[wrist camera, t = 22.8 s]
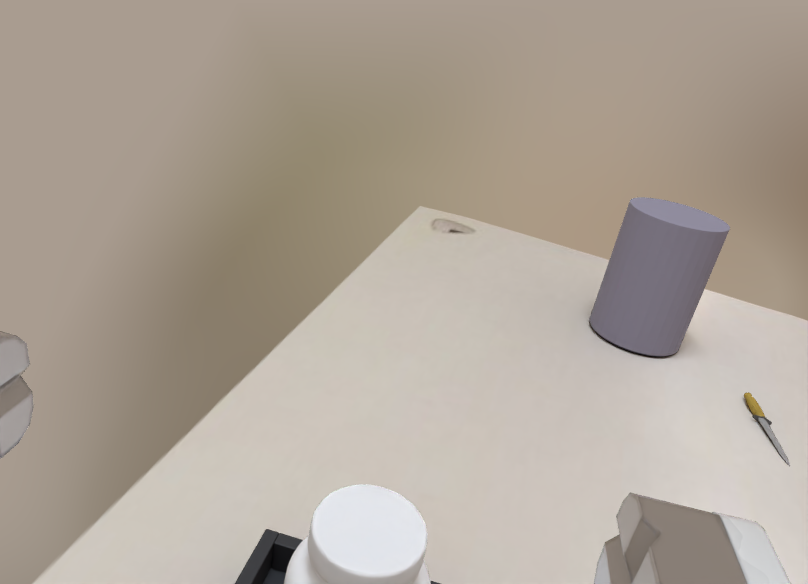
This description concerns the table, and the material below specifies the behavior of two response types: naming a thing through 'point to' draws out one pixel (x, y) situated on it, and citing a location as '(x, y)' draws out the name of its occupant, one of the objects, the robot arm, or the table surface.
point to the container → (656, 275)
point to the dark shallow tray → (270, 559)
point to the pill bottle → (362, 540)
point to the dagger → (764, 423)
